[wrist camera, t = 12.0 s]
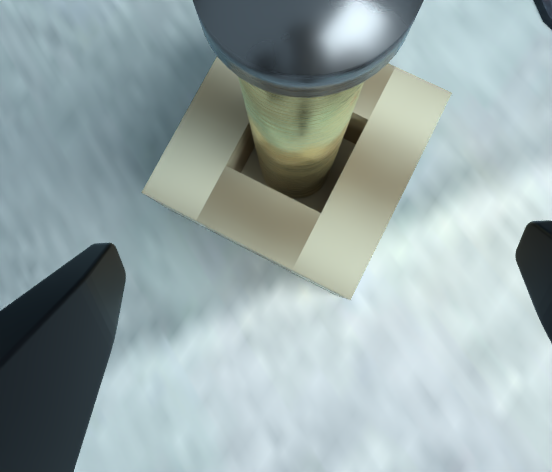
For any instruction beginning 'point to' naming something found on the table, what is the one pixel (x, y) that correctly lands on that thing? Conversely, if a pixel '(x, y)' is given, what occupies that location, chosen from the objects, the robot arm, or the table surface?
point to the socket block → (309, 210)
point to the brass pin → (303, 73)
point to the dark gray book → (545, 11)
